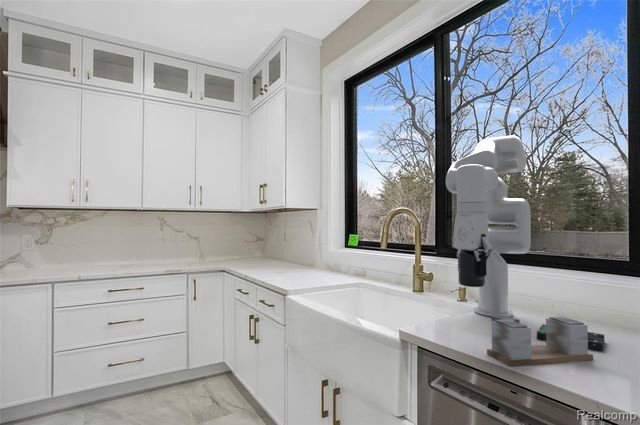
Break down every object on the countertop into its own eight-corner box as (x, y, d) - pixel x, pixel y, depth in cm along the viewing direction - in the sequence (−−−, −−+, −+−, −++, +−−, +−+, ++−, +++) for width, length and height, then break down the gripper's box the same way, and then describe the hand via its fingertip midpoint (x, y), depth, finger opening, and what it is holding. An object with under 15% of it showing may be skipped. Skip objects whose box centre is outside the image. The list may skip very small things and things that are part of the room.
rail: (486, 353, 88) (486, 319, 89) (564, 348, 93) (563, 315, 94) (510, 366, 81) (510, 328, 81) (593, 359, 85) (592, 323, 86)
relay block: (491, 333, 106) (491, 316, 106) (499, 331, 108) (499, 314, 108) (511, 339, 101) (511, 321, 101) (519, 336, 103) (519, 319, 103)
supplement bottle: (453, 283, 101) (452, 241, 101) (472, 281, 103) (471, 240, 103) (471, 288, 94) (471, 243, 95) (491, 286, 97) (490, 242, 97)
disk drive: (604, 344, 99) (542, 332, 108) (604, 334, 99) (542, 323, 108) (603, 354, 91) (536, 340, 100) (603, 343, 91) (536, 330, 101)
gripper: (442, 210, 107) (442, 269, 107) (479, 208, 90) (480, 279, 90) (464, 210, 108) (464, 268, 108) (505, 208, 91) (505, 278, 91)
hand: (471, 272), depth 99 cm, fingers closed on supplement bottle, 6 cm apart
